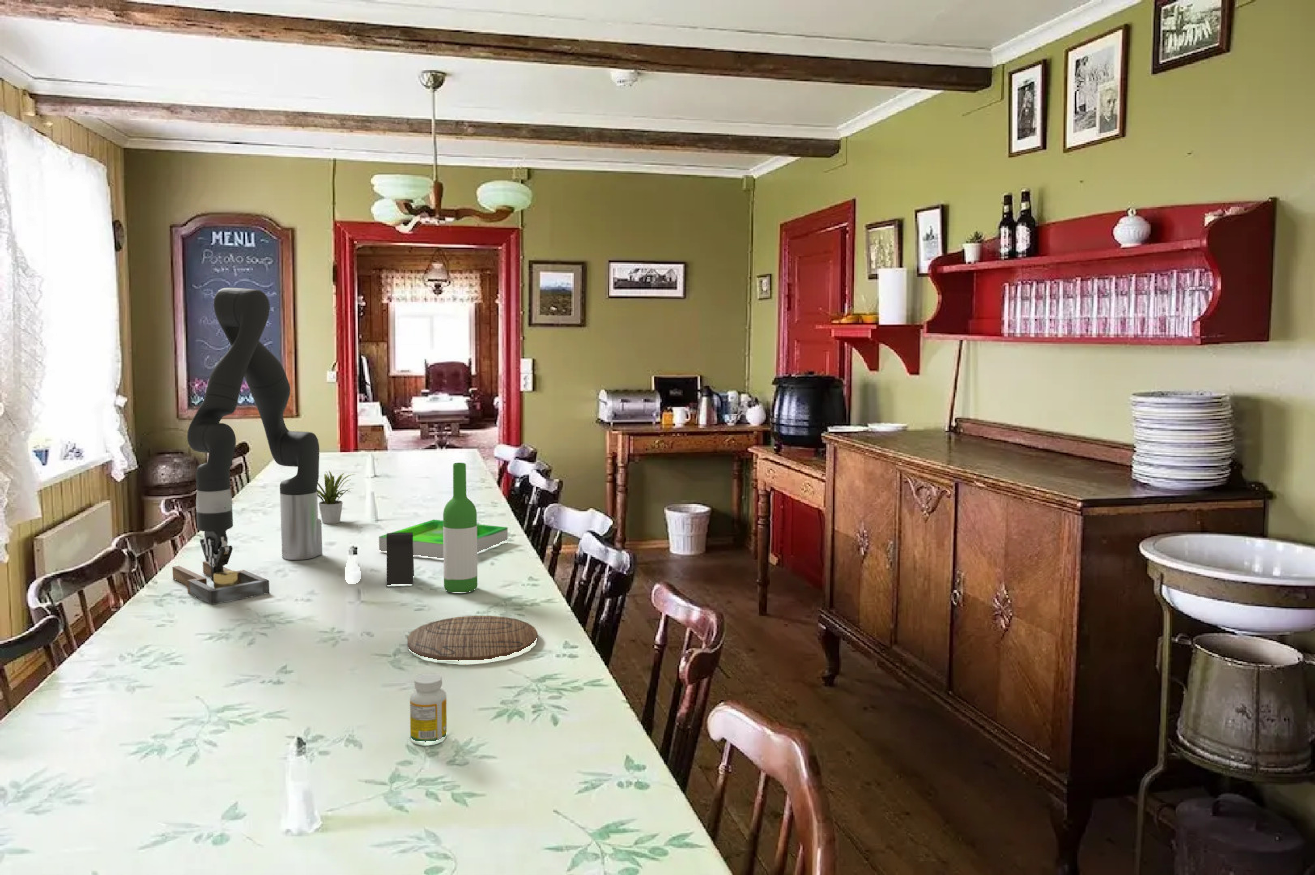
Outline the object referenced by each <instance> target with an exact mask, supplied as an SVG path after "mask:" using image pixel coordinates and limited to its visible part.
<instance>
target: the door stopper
mask: <svg viewBox="0 0 1315 875" xmlns="http://www.w3.org/2000/svg"><path fill="white" fill-rule="evenodd" d="M386 534H387V554H386V586H387V585H391V584H413V585H414V581H413V576H414V577H415V566H414V565H415V562H414V558H415V557H413V532H409V533H392V532H387V533H386Z"/></svg>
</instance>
